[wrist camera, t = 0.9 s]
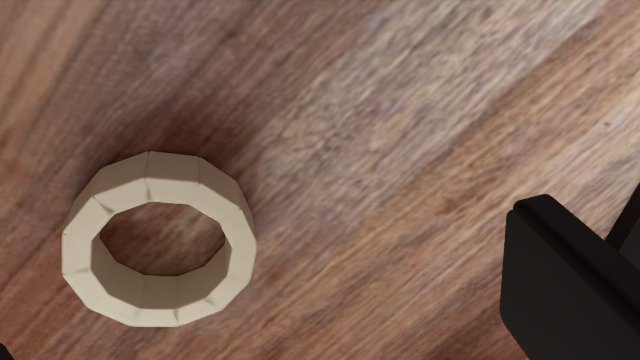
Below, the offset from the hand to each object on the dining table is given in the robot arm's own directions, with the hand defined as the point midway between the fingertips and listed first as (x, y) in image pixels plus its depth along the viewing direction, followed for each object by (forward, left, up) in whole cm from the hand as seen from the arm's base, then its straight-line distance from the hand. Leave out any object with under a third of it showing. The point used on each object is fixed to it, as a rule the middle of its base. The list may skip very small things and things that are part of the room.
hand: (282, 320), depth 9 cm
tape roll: (+8, -2, -15) cm, 17 cm away
